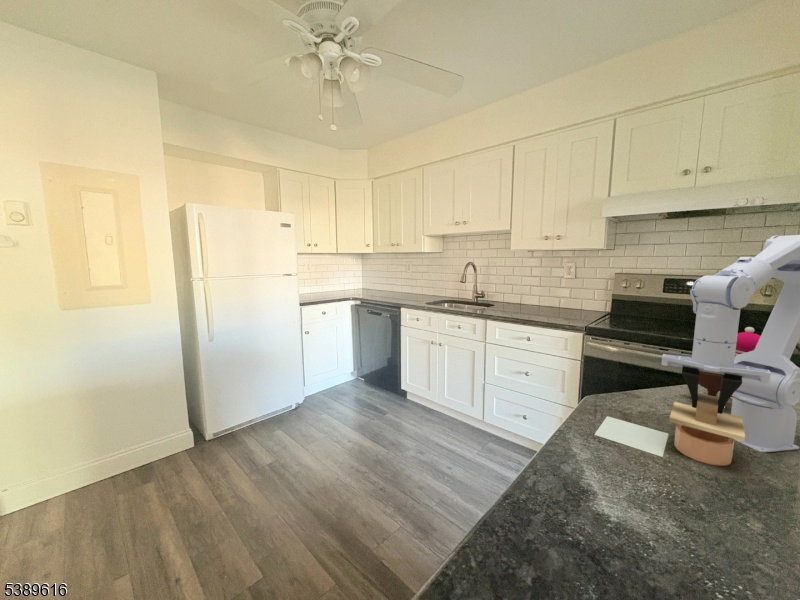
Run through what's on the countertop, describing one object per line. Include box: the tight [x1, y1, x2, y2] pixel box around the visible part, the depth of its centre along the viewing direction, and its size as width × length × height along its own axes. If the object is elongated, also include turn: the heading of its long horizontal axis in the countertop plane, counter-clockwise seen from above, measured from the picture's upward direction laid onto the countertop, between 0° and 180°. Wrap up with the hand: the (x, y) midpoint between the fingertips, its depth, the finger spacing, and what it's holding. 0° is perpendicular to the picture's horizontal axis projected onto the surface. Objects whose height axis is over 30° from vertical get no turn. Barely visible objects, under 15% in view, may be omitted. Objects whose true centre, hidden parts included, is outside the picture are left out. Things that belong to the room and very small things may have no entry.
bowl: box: [673, 424, 735, 467], centre depth 63 cm, size 8×8×4 cm
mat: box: [594, 416, 670, 458], centre depth 70 cm, size 12×12×1 cm
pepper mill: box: [731, 326, 761, 397], centre depth 87 cm, size 7×7×20 cm
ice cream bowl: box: [698, 371, 722, 397], centre depth 83 cm, size 11×11×15 cm
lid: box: [668, 392, 745, 442], centre depth 62 cm, size 10×10×4 cm
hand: (706, 408), depth 62 cm, fingers closed on lid, 3 cm apart
